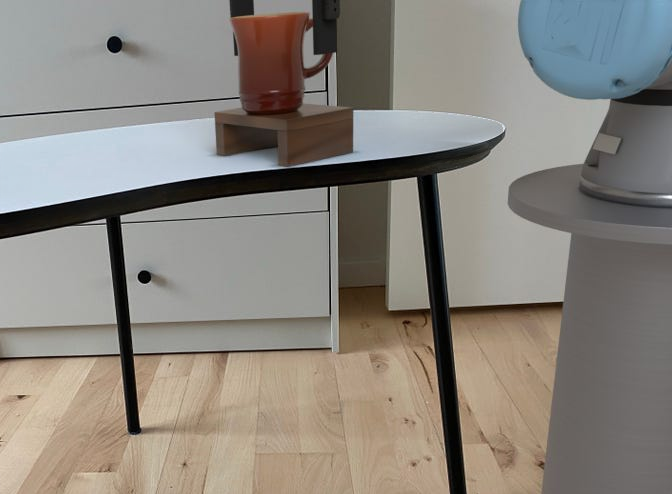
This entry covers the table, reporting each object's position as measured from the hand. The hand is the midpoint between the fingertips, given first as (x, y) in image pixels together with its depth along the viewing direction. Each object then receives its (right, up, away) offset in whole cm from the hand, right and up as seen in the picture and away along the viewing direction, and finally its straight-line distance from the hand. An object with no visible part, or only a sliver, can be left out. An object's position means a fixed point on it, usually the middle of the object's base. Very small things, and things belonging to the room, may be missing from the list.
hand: (283, 54), depth 93 cm
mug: (+1, -6, +2) cm, 6 cm away
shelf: (+1, -10, +5) cm, 11 cm away
